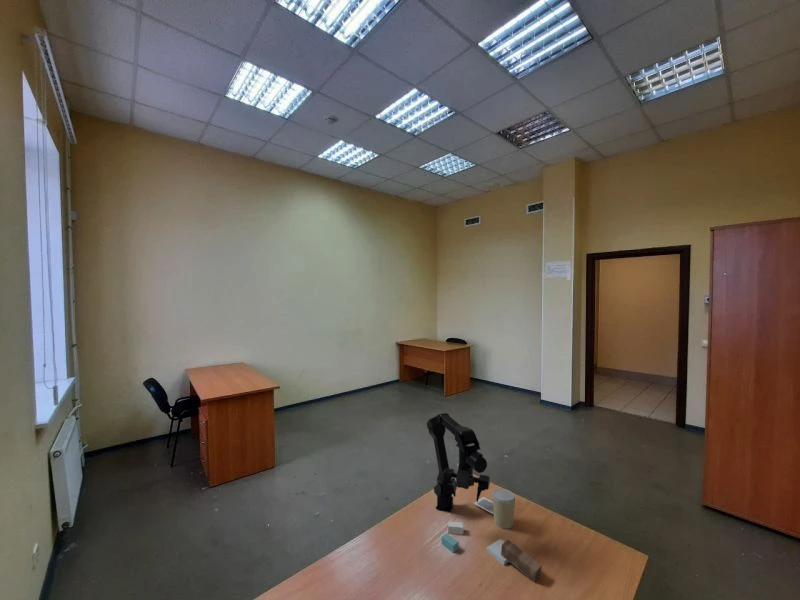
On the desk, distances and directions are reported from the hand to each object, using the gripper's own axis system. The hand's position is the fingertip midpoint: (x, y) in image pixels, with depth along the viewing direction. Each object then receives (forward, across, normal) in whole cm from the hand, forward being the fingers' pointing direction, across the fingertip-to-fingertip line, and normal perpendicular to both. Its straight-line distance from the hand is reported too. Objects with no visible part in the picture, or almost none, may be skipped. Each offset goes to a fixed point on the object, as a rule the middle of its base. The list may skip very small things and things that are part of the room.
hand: (465, 499), depth 135 cm
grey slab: (+14, +15, -7) cm, 21 cm away
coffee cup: (+13, +14, +11) cm, 22 cm away
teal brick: (+13, -4, -11) cm, 18 cm away
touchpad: (+14, +8, +19) cm, 25 cm away
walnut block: (+9, +16, -9) cm, 20 cm away
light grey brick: (+13, -4, -2) cm, 14 cm away
